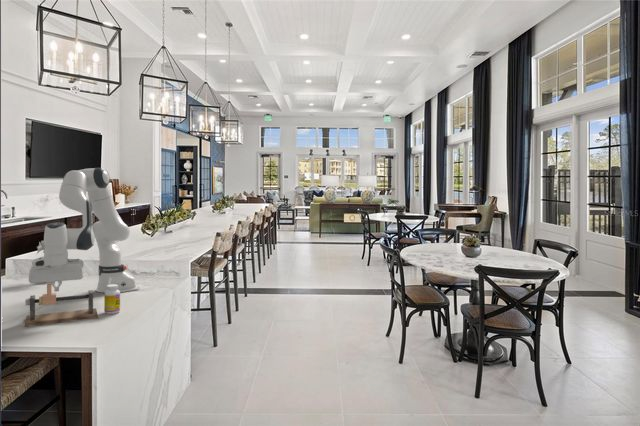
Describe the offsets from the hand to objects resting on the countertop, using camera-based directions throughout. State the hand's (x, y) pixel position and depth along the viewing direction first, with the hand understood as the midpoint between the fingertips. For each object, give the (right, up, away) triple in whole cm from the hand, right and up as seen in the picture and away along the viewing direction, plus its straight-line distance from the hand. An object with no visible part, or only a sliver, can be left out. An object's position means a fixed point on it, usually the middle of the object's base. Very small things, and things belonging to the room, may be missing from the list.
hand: (56, 291), depth 186 cm
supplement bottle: (+18, -13, +13) cm, 26 cm away
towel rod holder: (+1, -13, +2) cm, 13 cm away
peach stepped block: (-3, -5, -1) cm, 6 cm away
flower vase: (-46, -7, +68) cm, 82 cm away
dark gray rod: (+1, -5, +1) cm, 5 cm away
